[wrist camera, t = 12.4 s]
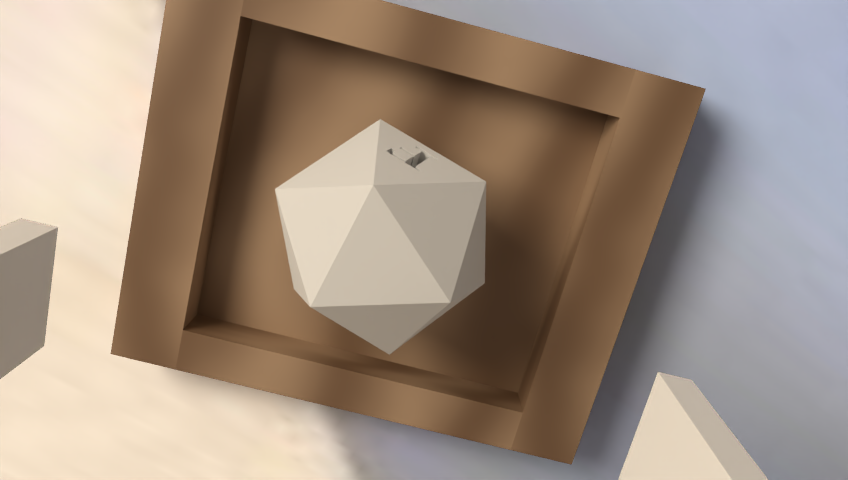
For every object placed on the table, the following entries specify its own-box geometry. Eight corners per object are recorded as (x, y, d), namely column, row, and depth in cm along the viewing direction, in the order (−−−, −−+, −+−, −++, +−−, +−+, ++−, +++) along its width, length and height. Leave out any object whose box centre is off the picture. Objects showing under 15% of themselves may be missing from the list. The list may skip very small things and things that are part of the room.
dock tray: (680, 85, 32) (705, 88, 29) (560, 431, 36) (571, 464, 34) (199, -46, 31) (175, -56, 28) (137, 328, 35) (110, 353, 32)
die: (516, 252, 34) (540, 151, 25) (412, 403, 31) (397, 352, 22) (377, 166, 36) (353, 45, 27) (268, 303, 33) (202, 219, 24)
